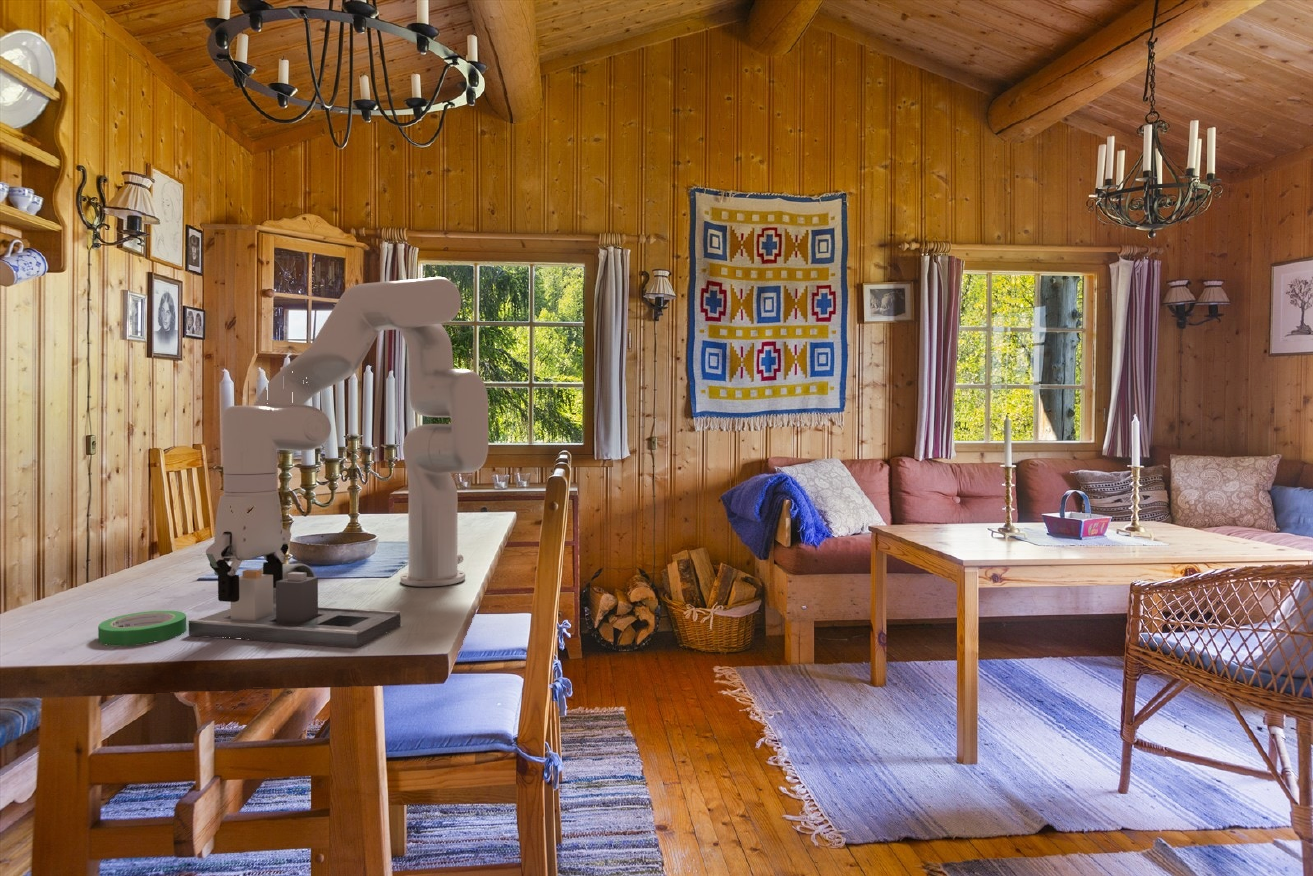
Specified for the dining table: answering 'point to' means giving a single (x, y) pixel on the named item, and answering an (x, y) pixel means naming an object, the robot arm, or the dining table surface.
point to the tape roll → (142, 628)
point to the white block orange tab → (253, 596)
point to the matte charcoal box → (297, 598)
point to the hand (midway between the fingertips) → (251, 593)
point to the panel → (303, 627)
